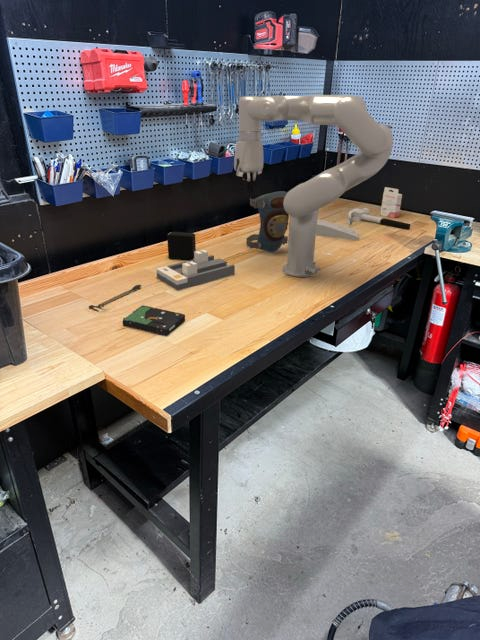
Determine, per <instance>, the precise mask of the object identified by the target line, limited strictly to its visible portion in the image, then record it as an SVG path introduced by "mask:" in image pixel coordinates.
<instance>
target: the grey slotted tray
mask: <svg viewBox="0 0 480 640" xmlns="http://www.w3.org/2000/svg"><path fill="white" fill-rule="evenodd" d="M191 261H193V262H195V261H194V259H193V260H190V261H188V262H191ZM186 262H187V261H185V260H184V261H182V262H177V263H174V264H170V265H166V266H161V267H158V268H156V279H158V280H159V281H161V282H163V283H165V284H166V285H168V286H170V287H171V288H173V289H175V290H176V291H181V290H184V289H188V288H191V287H194V286H195V287H196V286H198V285H202V284H206V283H208V282H213V281H217V280H219V279H223V278H227V277H230V276H234V275H235V273H236V272H235V271H236V270H235V269H236V266H235V265H234V264H229V265H227V264H228V262H227V261H226V260H225V259H221V258H220V257H219V258H215V255H213V254H212V255H211V254H210V255H208V261H207V262H203V263H199V264H197V274H195V275H191V276H187V277H185V276H183V270H182V264H183V263H186Z"/></svg>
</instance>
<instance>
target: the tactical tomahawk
mask: <svg viewBox="0 0 480 640" xmlns="http://www.w3.org/2000/svg"><path fill="white" fill-rule="evenodd" d="M141 288H142V285H141V284H136V285H134V286H133V287H132V288H131V289H130V290H126V291H124V292H122V293H120V294H118V295H115V296H113V297H111V298H109V299H107V300H105V301H103V302H101V303H99V304H97V305H93V304H91V305H89V306H88V309H89V310H92V311H95V312H97V313H99V312H100V310H104V307H105V306H106V305H108V304H110V303H112V302H115V301H117V300H119V299H122V298H124V297H125V296H127V295H129V294H133V293H134V292H136V291H137V290H138V289H141ZM98 309H100V310H98Z"/></svg>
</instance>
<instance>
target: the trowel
mask: <svg viewBox="0 0 480 640" xmlns="http://www.w3.org/2000/svg"><path fill="white" fill-rule="evenodd" d="M316 236H319V237H327V238H337V239H343V240H344V239H345V240H352V241H359V240H360V236H359V235H358V233H357V230H356V229H355V228H351V227H348V226H345V225H341V224H337V223H333V222H329V221H326V220H322V219H321V218H317V227H316Z"/></svg>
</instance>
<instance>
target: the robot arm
mask: <svg viewBox="0 0 480 640" xmlns="http://www.w3.org/2000/svg"><path fill="white" fill-rule="evenodd" d="M238 101H239V103H238V141H236V144H235V150H234V158H233V159H234V161H233V168H234V171H236V174H235V175H236V176H237V177H241V178H242V180H243V181H244V192H246V193H249V194H250V193H254V189H255V188H254V187H255V186H254V185H255V183H254V182H255V181H256V178H257V176H259V175H260V174H262V173H263V168H264V158H265V157H264V147H263V141H262V137H263V136H264V135H263V134H264V133H263V132H262V122H266V123H267V122H269V123H272V122H277V121H294V122H295V121H299V122H306V123H308V124H310V125H315V126H316V125H318V126H338V127H339V128H340V130H341V131H342V132H343V133H344V135H345V136H346V137H347V138H348V139H349V140H350V142H351V143H353V145H354V146H355V147H356V148H357V149H358V150H359V152H358V153H356V154H355V155H352V156H351V157H349V158H348V159H347V160H345V161H343V162H341V163H339V164H337V165H335V166H333V167H330V168H328V169H326V170H324V171H322V172H321V173H319V174H317V175H315V176H314V177H311V178H310V179H309V180H307V181H305V182H301V183H299V184H298V185H296V186H295V187H293V188H291V189H290V190H288V191H287V194H286V196H285V198H284V202H283V205H284V209H285V211H286V213H287V214H289V217H290V218H289V223H288V225H289V226H288V241H287V260H286V264H284V265H283V266H282V269H281V270H282V272H283V273H284V274H286V275H288V276H291V277H296V278H308V277H312V276H316V275H317V274H318V273H319V272H320V270H321V268H320V266H319V267H318V266H316V261H314V260H315V259H314V257H315V248H316V236H317V235H316V227H317V219H319V211H320V209H321V208H323V207H325V206H327V205H330V204H331V203H333V202H335V201H336V200H337V199H339V198H340V197H341V196H342V195H343V194H344V193H345V192H347V191H348V190H351V189H352V188H354V187H356V186H358V185H359V184H362V183H363V182H364V181H367V180H368V179H370V178H371V177H373V176H374V175H376V174H377V173H378V172H379V171H380V170H381V169H382V168H383V167H384V166H385V165H386V164H387V162H388V160H389V159H390V156H391V153H392V149H393V144H394V143H393V142H394V137H393V132H392V130H391V129H390V127H388V126H387V125H385V124H381V123H378V122H377V121H376V120H375V119H374V117H373V116H372V115H371V114H370V112H369V111H368V110H367V109H368V108H367V104H366V101H365V100H364V99H363V98H362V97H361V96H359V95H352V94H351V95H350V94H349V95H347V94H341V95H339V94H311V95H302V96H301V95H267V96H263V97H262V96H261V97H259V96H257V95H256V96H254V95H253V96H247V95H246V96H244V95H243V96H242V97H240V98H239V100H238Z"/></svg>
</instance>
